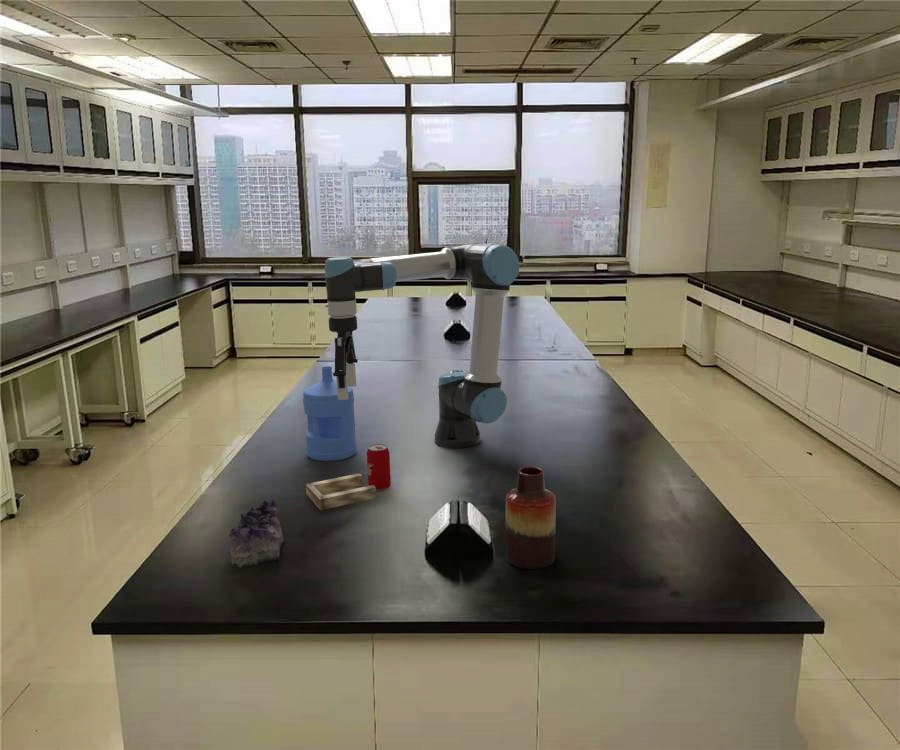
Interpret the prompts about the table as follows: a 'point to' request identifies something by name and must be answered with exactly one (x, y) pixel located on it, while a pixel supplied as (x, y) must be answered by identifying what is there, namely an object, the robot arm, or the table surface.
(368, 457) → the beverage can
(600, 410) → the table surface
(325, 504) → the u rest
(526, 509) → the vase
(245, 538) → the geode
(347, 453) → the water jug
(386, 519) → the table surface
